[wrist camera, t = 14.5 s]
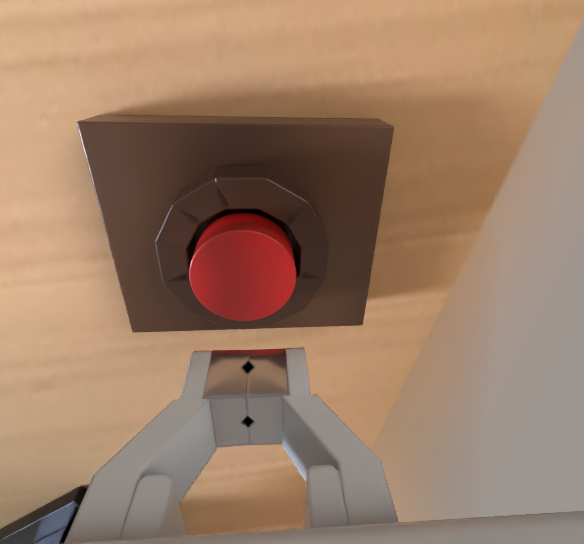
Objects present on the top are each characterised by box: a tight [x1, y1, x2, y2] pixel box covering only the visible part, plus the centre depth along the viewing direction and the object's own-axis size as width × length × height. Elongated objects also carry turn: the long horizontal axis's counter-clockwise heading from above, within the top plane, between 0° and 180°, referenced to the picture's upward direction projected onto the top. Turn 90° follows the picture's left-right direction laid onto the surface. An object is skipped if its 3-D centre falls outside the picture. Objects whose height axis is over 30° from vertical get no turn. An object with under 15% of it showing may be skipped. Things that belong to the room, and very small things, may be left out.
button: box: [189, 213, 296, 321], centre depth 14 cm, size 4×4×2 cm
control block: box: [77, 115, 394, 332], centre depth 16 cm, size 12×10×4 cm
